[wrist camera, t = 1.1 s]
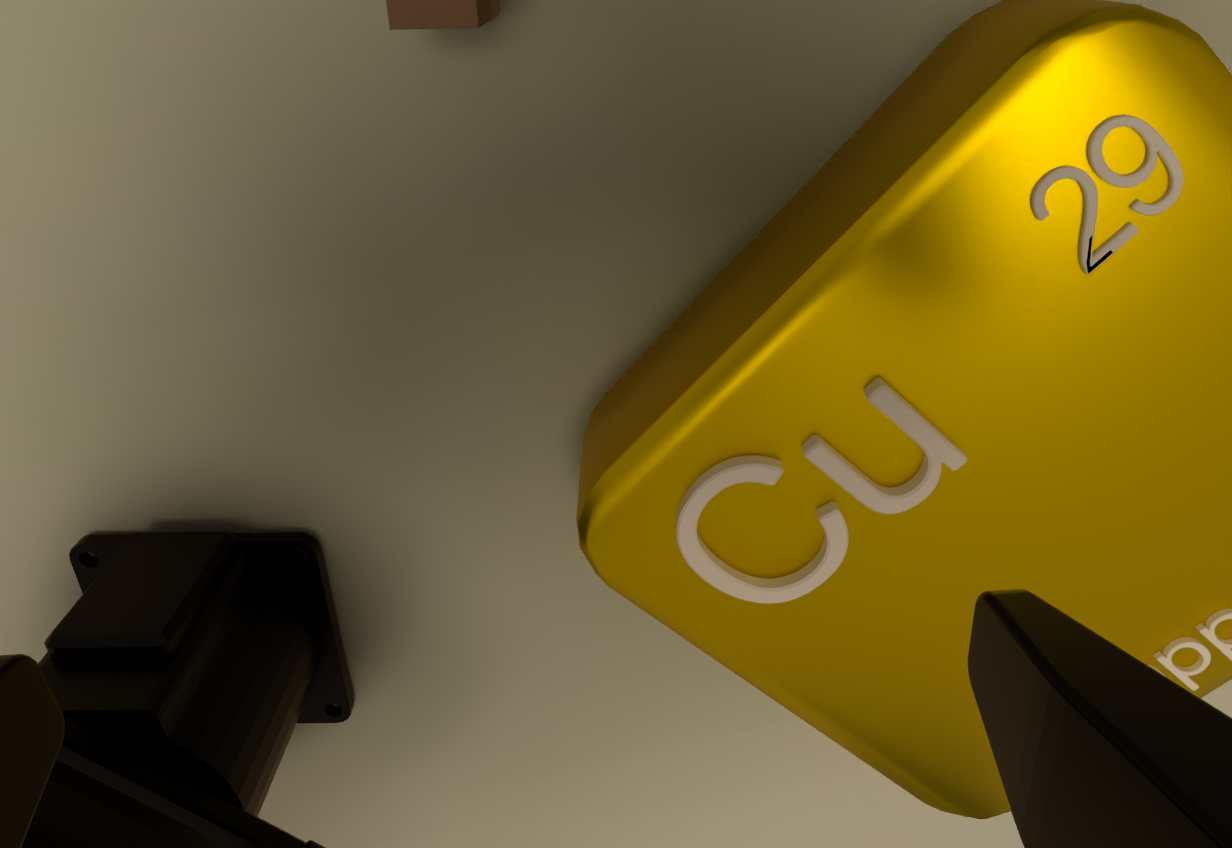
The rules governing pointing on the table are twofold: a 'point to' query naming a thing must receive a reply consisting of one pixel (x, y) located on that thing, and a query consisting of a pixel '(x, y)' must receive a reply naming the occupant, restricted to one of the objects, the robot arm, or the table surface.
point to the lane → (440, 13)
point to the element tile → (952, 395)
